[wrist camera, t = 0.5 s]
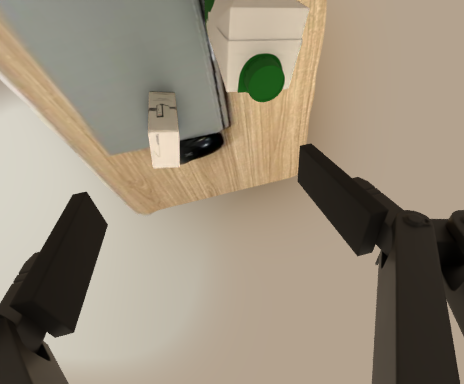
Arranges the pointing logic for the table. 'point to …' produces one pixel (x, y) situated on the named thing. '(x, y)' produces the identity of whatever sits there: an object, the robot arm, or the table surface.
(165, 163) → the ink box
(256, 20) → the soya milk
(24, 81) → the table surface
